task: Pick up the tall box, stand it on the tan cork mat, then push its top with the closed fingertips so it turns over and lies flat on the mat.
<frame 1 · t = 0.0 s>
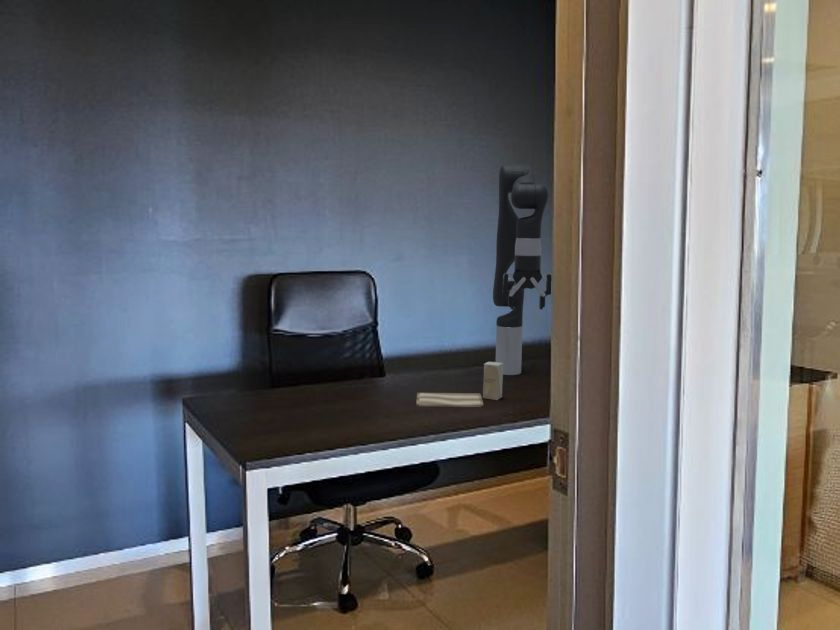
hand: (526, 309, 216), 29 cm above the table, fingers open, 8 cm apart
mat: (449, 400, 226), on the table
box: (492, 398, 230), on the table
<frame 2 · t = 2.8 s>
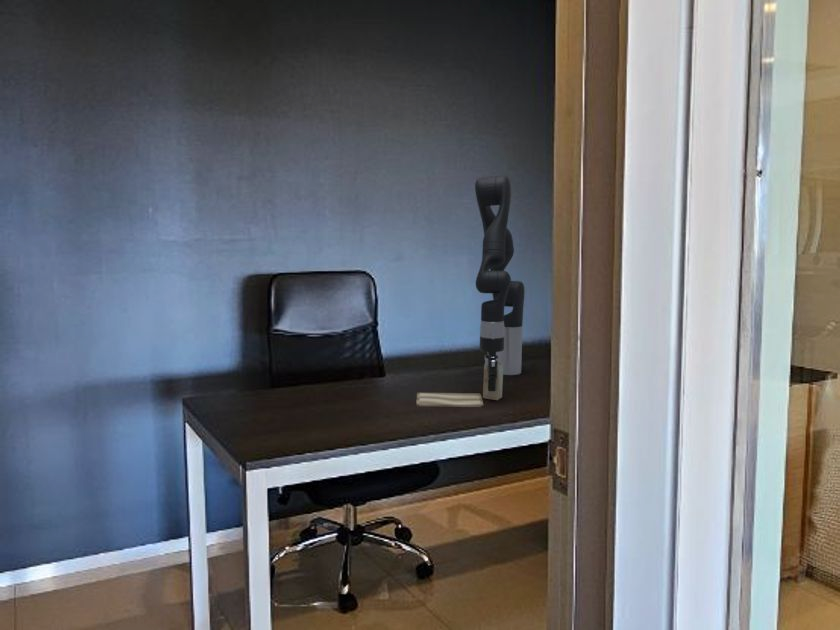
hand: (490, 388, 229), 3 cm above the table, fingers closed on box, 5 cm apart
box: (492, 398, 230), on the table, touching gripper
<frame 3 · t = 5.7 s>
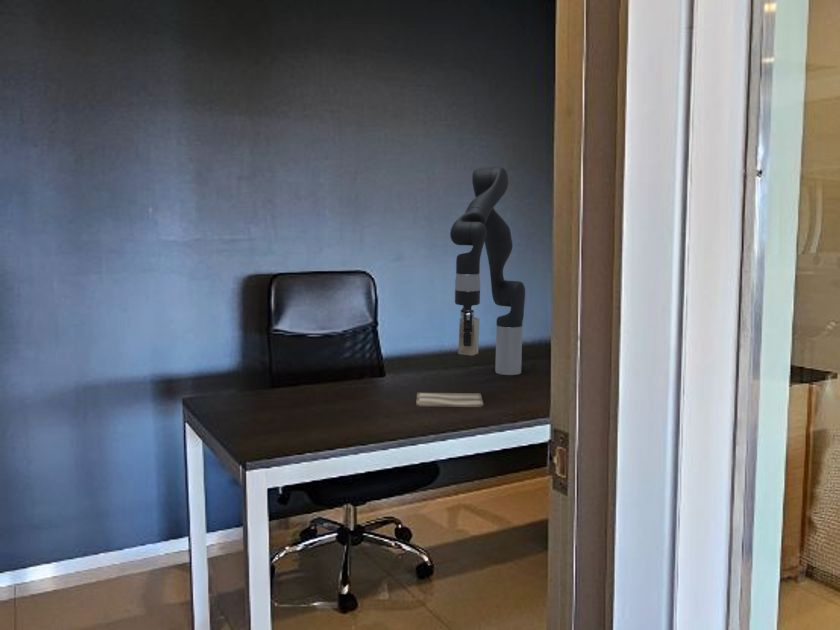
hand: (466, 343, 223), 18 cm above the table, fingers closed on box, 5 cm apart
box: (468, 354, 224), point 15 cm above the table, touching gripper
when the fingers open (4 cm above the table, at t = 8.5 s): box stays where it is, resting on mat.
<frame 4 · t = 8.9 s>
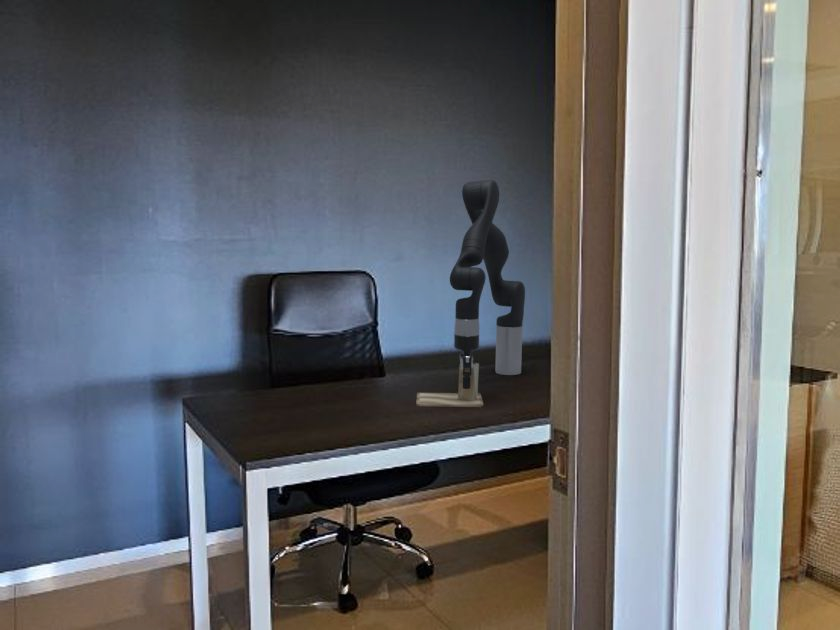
hand: (465, 385, 225), 5 cm above the table, fingers open, 8 cm apart
box: (468, 399, 226), resting on mat
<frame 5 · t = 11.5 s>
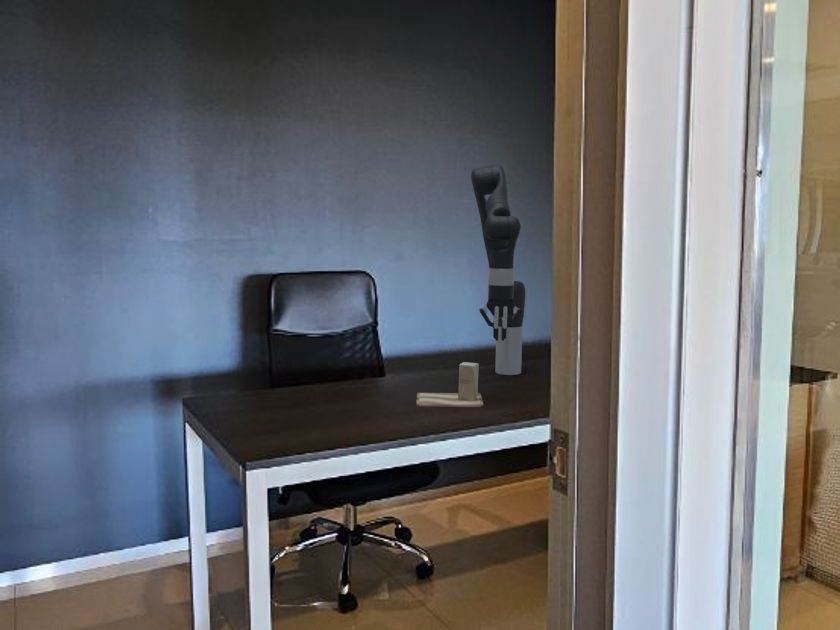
hand: (499, 340, 223), 19 cm above the table, fingers closed
nothing on the table moved.
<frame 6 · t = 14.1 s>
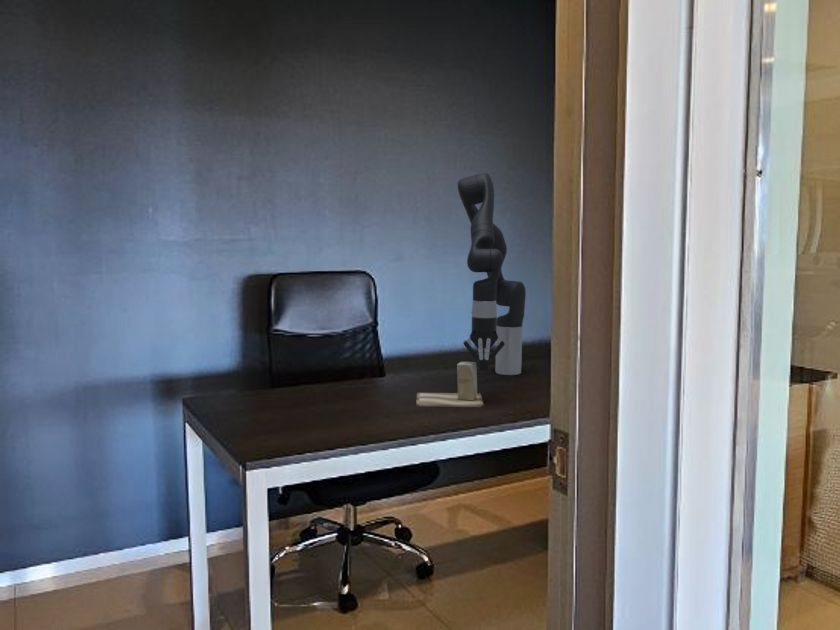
hand: (483, 371, 224), 9 cm above the table, fingers closed
box: (468, 398, 226), point 1 cm above the table, touching gripper, mat
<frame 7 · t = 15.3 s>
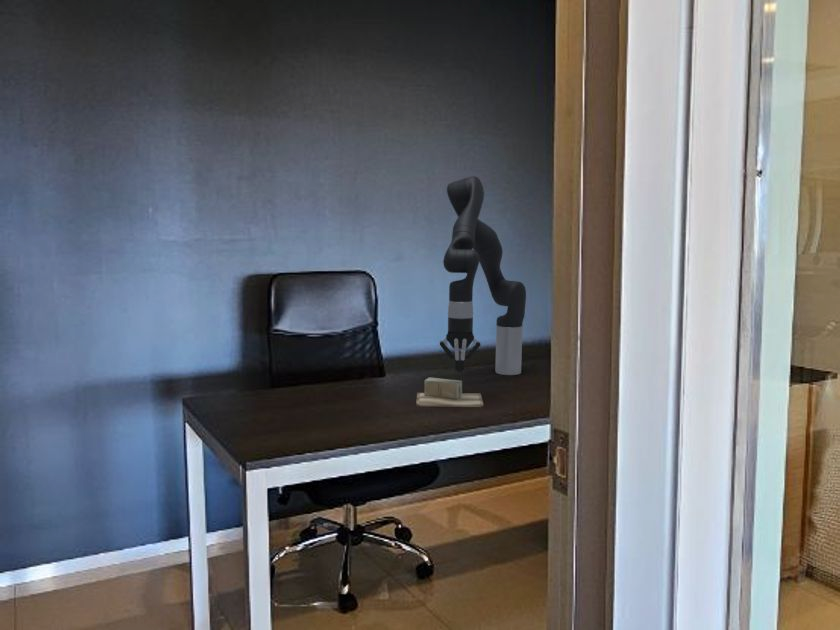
hand: (459, 371, 224), 9 cm above the table, fingers closed
box: (460, 389, 226), point 3 cm above the table, touching mat
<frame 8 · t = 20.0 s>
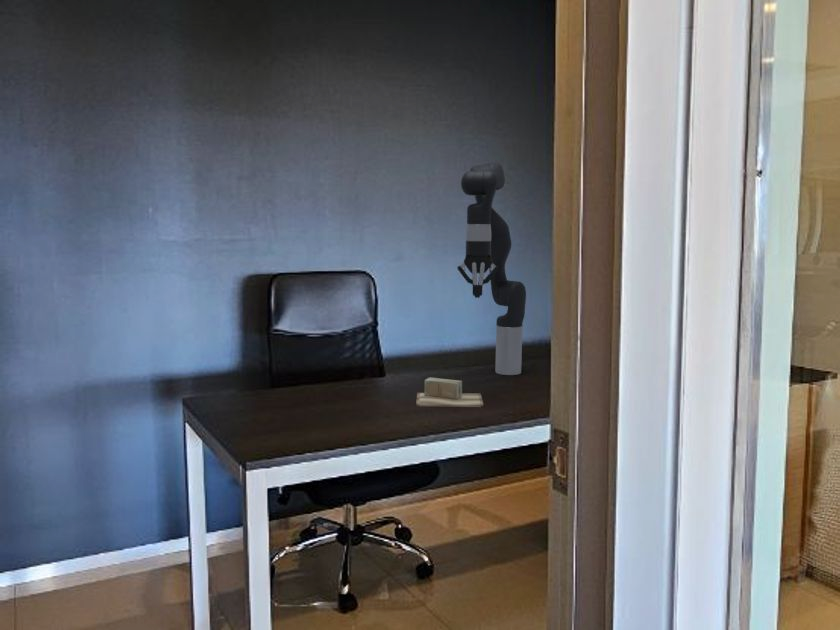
hand: (477, 297, 221), 32 cm above the table, fingers closed
nothing on the table moved.
at the end: box tilted 91°; box inside the target area on the mat (3.5 cm from its centre), point 3.3 cm above the mat's base; the gripper is holding nothing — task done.
